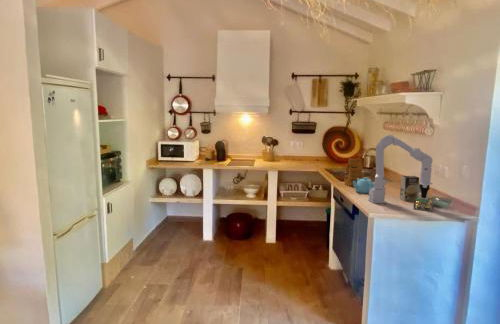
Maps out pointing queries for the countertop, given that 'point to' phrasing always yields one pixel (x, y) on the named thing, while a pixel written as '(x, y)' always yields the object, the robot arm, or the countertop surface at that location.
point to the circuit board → (423, 198)
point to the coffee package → (353, 171)
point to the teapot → (363, 185)
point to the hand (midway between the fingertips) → (423, 197)
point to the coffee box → (409, 188)
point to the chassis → (422, 206)
